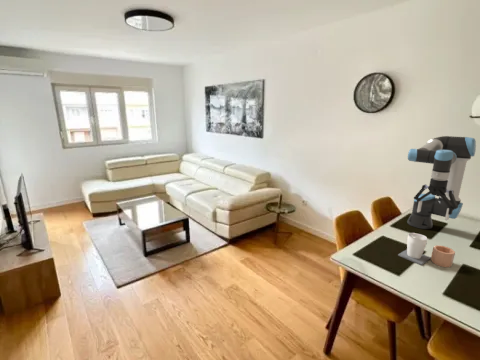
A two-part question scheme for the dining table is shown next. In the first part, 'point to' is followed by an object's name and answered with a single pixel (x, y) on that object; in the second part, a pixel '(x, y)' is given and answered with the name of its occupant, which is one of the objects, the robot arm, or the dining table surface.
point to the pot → (442, 256)
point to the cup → (416, 245)
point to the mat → (418, 261)
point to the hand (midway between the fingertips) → (432, 215)
